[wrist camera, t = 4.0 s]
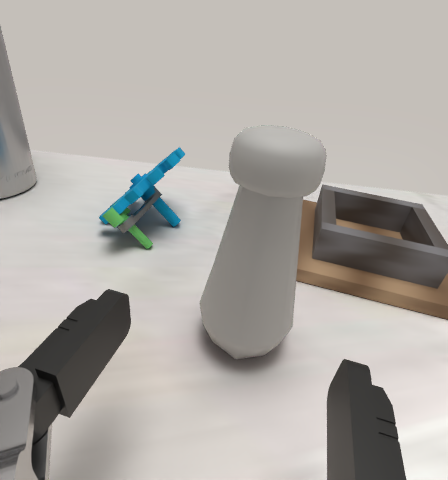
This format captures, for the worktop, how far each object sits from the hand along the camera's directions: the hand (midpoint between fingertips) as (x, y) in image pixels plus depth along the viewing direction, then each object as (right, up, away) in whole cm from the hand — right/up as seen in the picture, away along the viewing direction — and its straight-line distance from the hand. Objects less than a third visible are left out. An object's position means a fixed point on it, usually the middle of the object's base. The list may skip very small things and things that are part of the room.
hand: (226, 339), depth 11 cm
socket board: (+13, +2, +19) cm, 23 cm away
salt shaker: (+1, -3, +9) cm, 10 cm away
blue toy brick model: (-8, +5, +20) cm, 22 cm away
